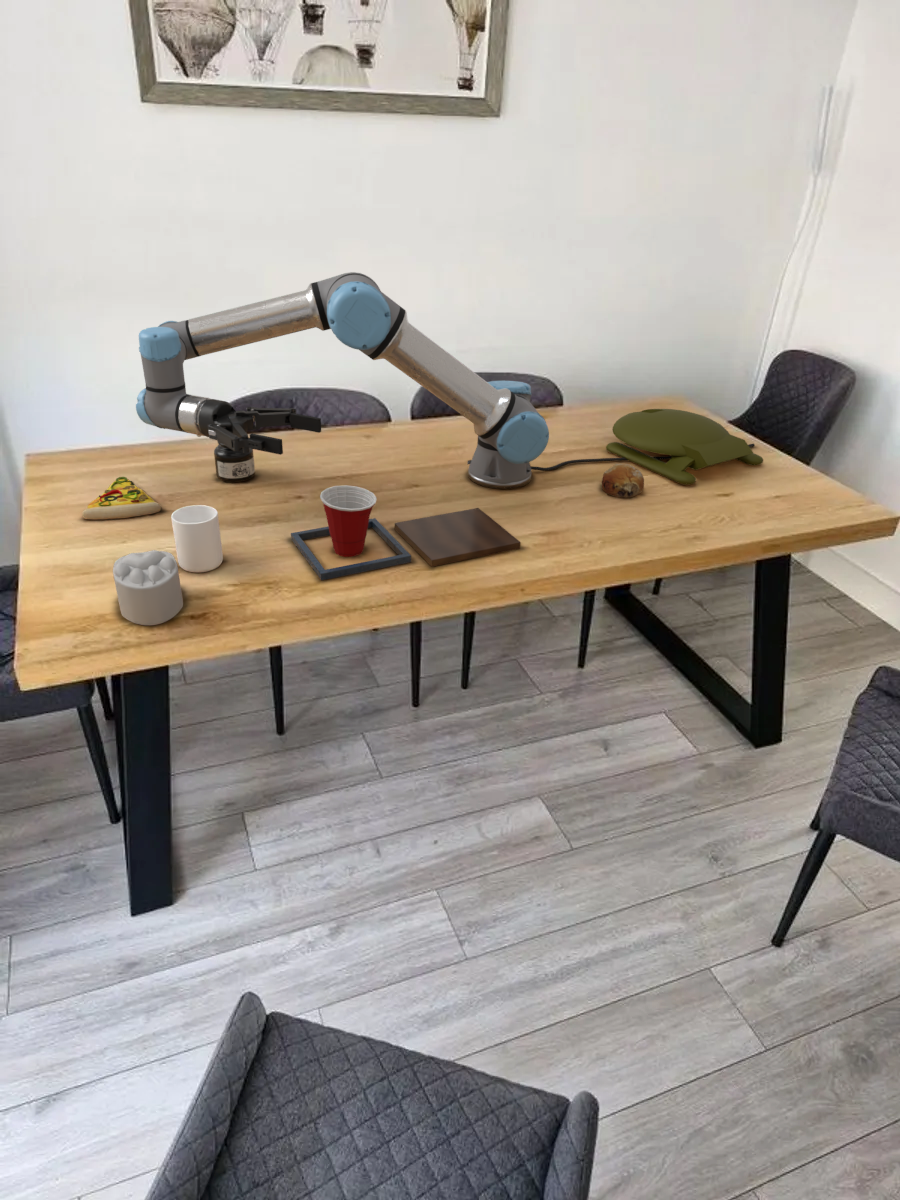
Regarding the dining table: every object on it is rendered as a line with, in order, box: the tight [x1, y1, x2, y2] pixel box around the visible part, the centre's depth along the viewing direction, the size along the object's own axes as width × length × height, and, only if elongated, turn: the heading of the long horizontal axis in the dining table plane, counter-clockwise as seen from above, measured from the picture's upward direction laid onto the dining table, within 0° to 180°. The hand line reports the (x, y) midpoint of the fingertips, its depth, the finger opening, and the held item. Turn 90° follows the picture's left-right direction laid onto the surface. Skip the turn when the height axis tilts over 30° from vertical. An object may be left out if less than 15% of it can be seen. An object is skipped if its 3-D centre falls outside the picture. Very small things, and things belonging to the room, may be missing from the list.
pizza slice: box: [81, 476, 162, 520], centre depth 179 cm, size 16×21×3 cm
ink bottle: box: [213, 431, 256, 483], centre depth 190 cm, size 10×9×12 cm
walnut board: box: [393, 507, 521, 568], centre depth 169 cm, size 20×18×2 cm
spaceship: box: [605, 408, 764, 486], centre depth 214 cm, size 35×31×10 cm
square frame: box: [290, 517, 412, 581], centre depth 163 cm, size 18×18×2 cm
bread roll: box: [601, 463, 645, 499], centre depth 194 cm, size 10×10×8 cm
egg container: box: [112, 549, 184, 626], centre depth 141 cm, size 10×13×9 cm
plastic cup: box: [319, 484, 378, 558], centre depth 160 cm, size 11×11×12 cm
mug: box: [170, 504, 224, 574], centre depth 155 cm, size 12×8×10 cm
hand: (301, 435), depth 155 cm, fingers open, 13 cm apart
